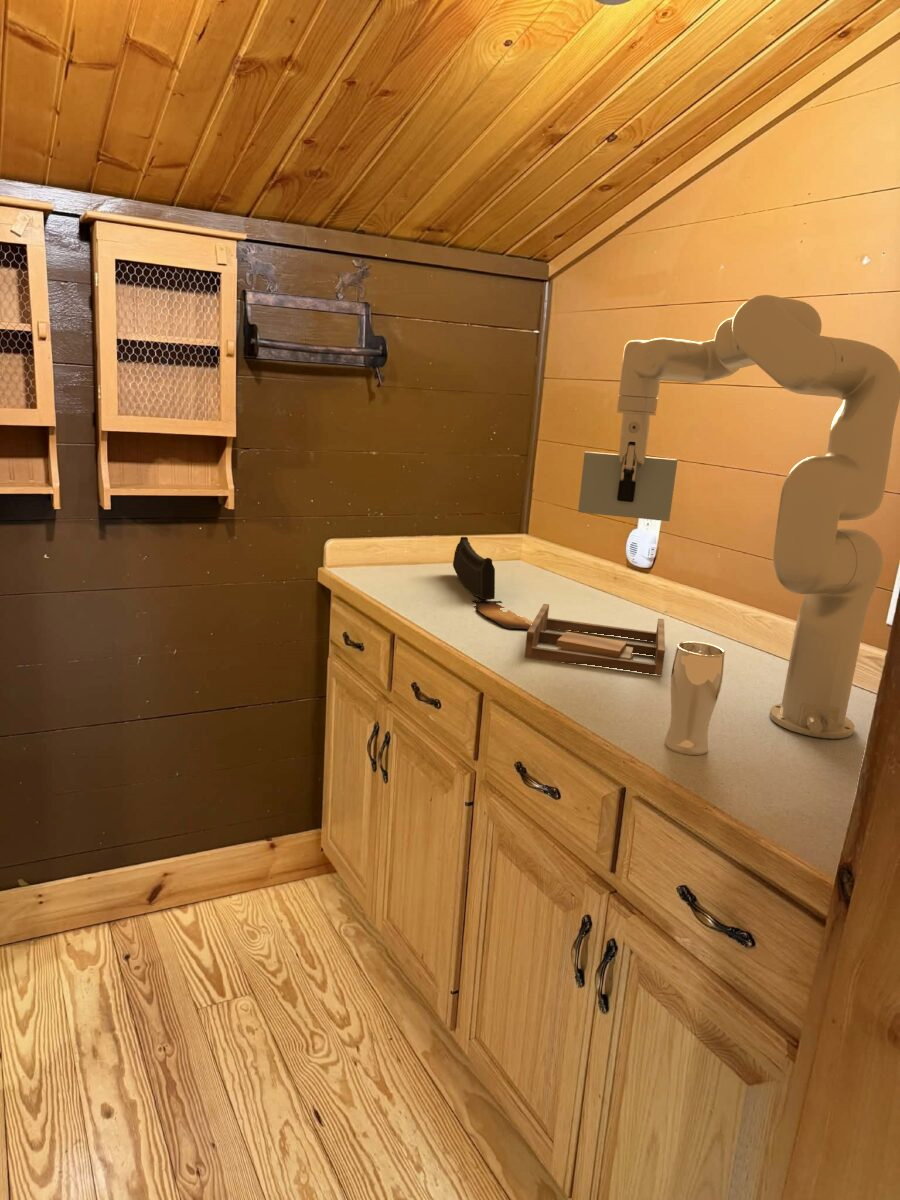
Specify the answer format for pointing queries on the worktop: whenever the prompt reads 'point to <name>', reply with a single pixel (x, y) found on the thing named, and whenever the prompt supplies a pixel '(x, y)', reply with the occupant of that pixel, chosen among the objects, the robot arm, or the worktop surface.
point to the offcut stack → (594, 646)
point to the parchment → (501, 615)
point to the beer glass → (693, 695)
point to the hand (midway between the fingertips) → (625, 499)
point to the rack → (543, 622)
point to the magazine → (474, 571)
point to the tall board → (649, 488)
